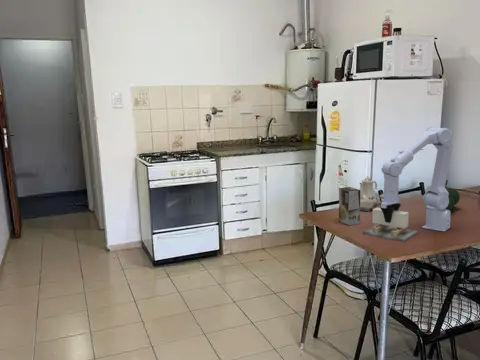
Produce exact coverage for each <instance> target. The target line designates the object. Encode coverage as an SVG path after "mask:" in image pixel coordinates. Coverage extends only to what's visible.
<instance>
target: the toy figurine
mask: <svg viewBox="0 0 480 360" xmlns="http://www.w3.org/2000/svg"><path fill="white" fill-rule="evenodd" d="M448 183H449V181H448V178H447V179H446V184H445V188H446V190H447V191H448V193H449V195H448V198H449V204H448V206H447V207H446V210H450V213H451V215H452V214H453V213H454V211H455V210H456V207H455V205H457V204H458V203H459V202H460V199H461V195H460V192H458V190H457V189H455V188H453V187H447V185H448Z"/></svg>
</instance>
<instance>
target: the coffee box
mask: <svg viewBox="0 0 480 360" xmlns="http://www.w3.org/2000/svg"><path fill="white" fill-rule="evenodd" d="M360 191H361V190H360V189H359V188H355V187H351V186H345V187H339V188H338V221H340V223H343V224H345V225H347V226H353V225H360V224H361V223H360V222H361V207H360Z"/></svg>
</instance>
